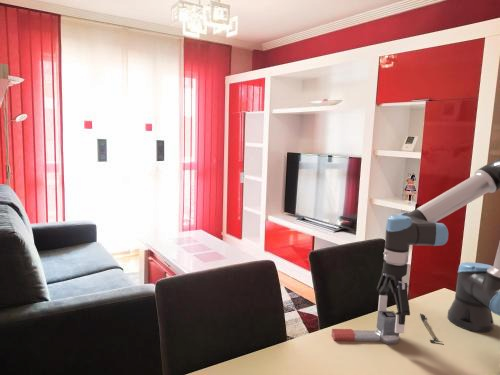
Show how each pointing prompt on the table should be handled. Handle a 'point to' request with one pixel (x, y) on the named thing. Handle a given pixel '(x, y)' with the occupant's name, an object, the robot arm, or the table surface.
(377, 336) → the ratchet
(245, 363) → the table surface
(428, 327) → the tomahawk
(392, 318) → the socket
